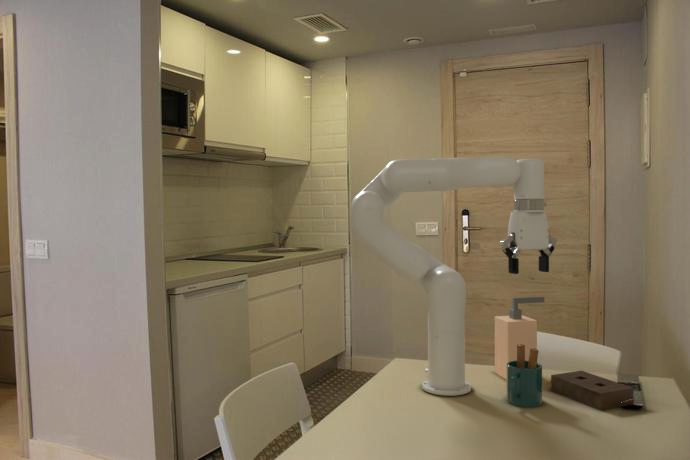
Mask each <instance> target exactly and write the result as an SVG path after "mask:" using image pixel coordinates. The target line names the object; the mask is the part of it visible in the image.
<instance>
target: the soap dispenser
mask: <svg viewBox="0 0 690 460" xmlns="http://www.w3.org/2000/svg"><path fill="white" fill-rule="evenodd" d="M537 303H545V296H520V297H512V307H511V308H509V309H508V315H495V316H494V374H496V375H498V376H499V377H501V378H503V379H505V380H506V381H507V363H508V362H510V361H516V360H517V345H518V344H523V345H525V361H529V354H530V349H533V348H535V349H537V350H538V320H537V319H533V318H531V317H528V316H525V315H524V314H523V310H522V309H521V308H519V304H537ZM522 314H523V315H522Z"/></svg>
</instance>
